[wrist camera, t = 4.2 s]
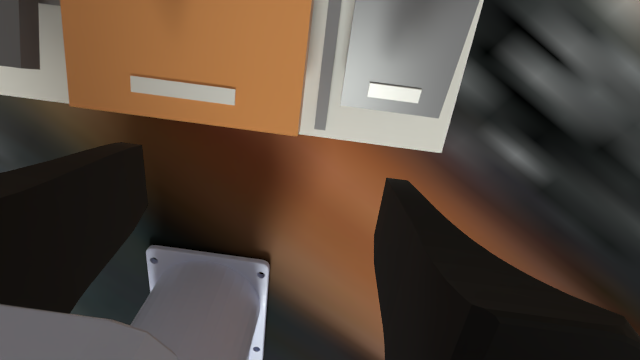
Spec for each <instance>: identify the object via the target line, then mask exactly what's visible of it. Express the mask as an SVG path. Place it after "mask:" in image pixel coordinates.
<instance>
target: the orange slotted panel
mask: <svg viewBox="0 0 640 360" xmlns="http://www.w3.org/2000/svg"><path fill="white" fill-rule="evenodd" d="M313 5H314V0H60V6H61V17H62V28H63V39H64V50H65V61H66V72H67V83H68V95H69V106H71V107H78V108H86V109H94V110H101V111H109V112H116V113H124V114H131V115H139V116H146V117H154V118H161V119H169V120H176V121H184V122H191V123H199V124H207V125H214V126H222V127H229V128H237V129H244V130H252V131H259V132H267V133H274V134H282V135H289V136H298V134H299V132H300V126H301V117H302V108H303V98H304V89H305V80H306V70H307V61H308V52H309V42H310V33H311V24H312V14H313Z"/></svg>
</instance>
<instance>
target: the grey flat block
mask: <svg viewBox="0 0 640 360" xmlns="http://www.w3.org/2000/svg"><path fill="white" fill-rule="evenodd" d="M479 1H480V0H355V4H354V11H353V18H352V25H351V32H350V39H349V46H348V53H347V60H346V67H345V73H344V80H343V87H342V95H341V103H340V106H348V107H355V108H363V109H371V110H378V111H386V112H393V113H401V114H409V115H416V116H424V117H431V118H439V116H440V113H441V110H442V107H443V104H444V102H445V99H446V96H447V93H448V90H449V87H450V84H451V81H452V79H453V76H454V73H455V70H456V67H457V64H458V61H459V58H460V55H461V53H462V50H463V47H464V44H465V41H466V38H467V35H468V32H469V30H470V27H471V24H472V21H473V18H474V15H475V12H476V9H477V7H478V4H479Z"/></svg>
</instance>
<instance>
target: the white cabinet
mask: <svg viewBox="0 0 640 360" xmlns="http://www.w3.org/2000/svg"><path fill="white" fill-rule="evenodd" d="M483 1H484V0H480V1H479V4H478V7H477V9H476V12H475V15H474V18H473V21H472V24H471V27H470V30H469V32H468V35H467V38H466V41H465V44H464V47H463V50H462V53H461V55H460V58H459V61H458V64H457V67H456V70H455V73H454V76H453V79H452V81H451V84H450V87H449V90H448V93H447V96H446V99H445V102H444V104H443V107H442V110H441V113H440V116H439V118H431V117H424V116H416V115H409V114H401V113H393V112H386V111H378V110H371V109H363V108H355V107H348V106H340V103H341V95H342V87H343V80H344V73H345V67H346V60H347V53H348V46H349V39H350V32H351V25H352V18H353V11H354V4H355V0H314V5H313V14H312V24H311V33H310V42H309V52H308V61H307V70H306V80H305V89H304V98H303V108H302V117H301V126H300V132H299V134H302V135H309V136H317V137H324V138H332V139H339V140H347V141H355V142H362V143H370V144H377V145H385V146H392V147H400V148H407V149H415V150H422V151H430V152H437V153H442V149H443V145H444V142H445V138H446V134H447V131H448V127H449V124H450V120H451V116H452V113H453V109H454V106H455V102H456V98H457V95H458V91H459V88H460V84H461V80H462V77H463V73H464V70H465V66H466V62H467V59H468V55H469V51H470V48H471V44H472V41H473V37H474V33H475V30H476V26H477V23H478V19H479V15H480V12H481V8H482V5H483ZM38 7H39V48H40V70H38V69H23V68H14V67H7V66H0V95H8V96H15V97H23V98H30V99H38V100H45V101H53V102H61V103H68V104H69V95H68V83H67V72H66V61H65V50H64V39H63V28H62V17H61V6H60V0H38Z"/></svg>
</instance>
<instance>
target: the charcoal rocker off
mask: <svg viewBox="0 0 640 360" xmlns="http://www.w3.org/2000/svg"><path fill="white" fill-rule="evenodd" d="M0 66H7V67H14V68H23V69H38V70H40V48H39V7H38V0H0Z"/></svg>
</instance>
